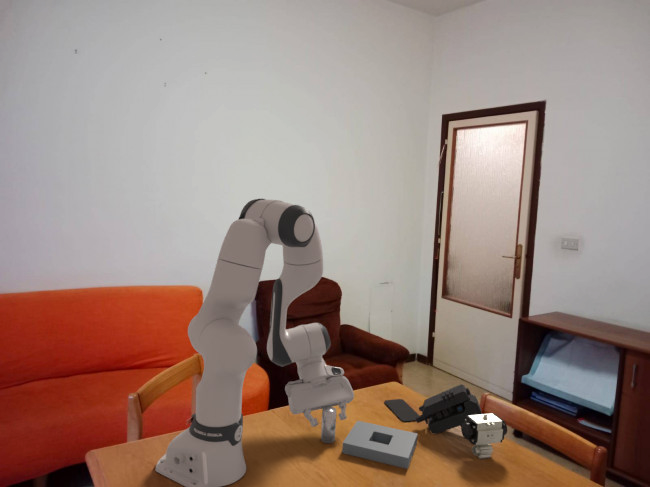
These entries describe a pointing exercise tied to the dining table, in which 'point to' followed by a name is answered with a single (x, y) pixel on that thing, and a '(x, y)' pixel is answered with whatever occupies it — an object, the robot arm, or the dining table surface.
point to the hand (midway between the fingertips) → (329, 422)
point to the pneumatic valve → (483, 432)
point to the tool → (448, 409)
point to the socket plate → (380, 444)
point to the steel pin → (328, 424)
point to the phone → (401, 410)
